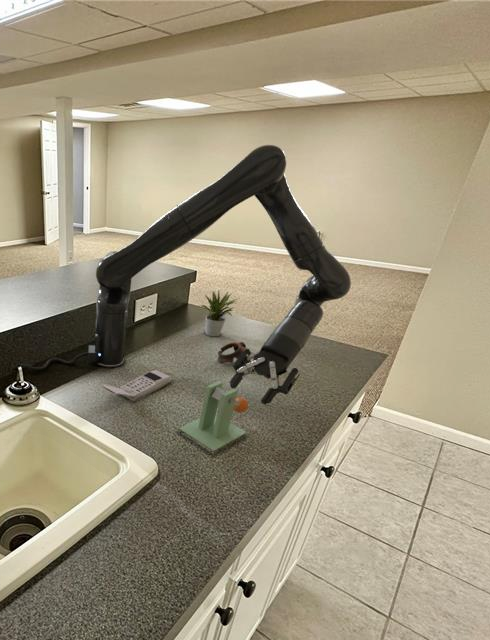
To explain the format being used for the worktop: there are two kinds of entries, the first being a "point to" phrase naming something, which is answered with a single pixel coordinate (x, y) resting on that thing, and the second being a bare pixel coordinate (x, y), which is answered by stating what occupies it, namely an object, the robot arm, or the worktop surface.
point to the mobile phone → (141, 385)
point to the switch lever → (240, 403)
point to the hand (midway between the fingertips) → (247, 395)
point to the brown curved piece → (238, 350)
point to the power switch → (215, 420)
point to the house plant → (216, 314)
